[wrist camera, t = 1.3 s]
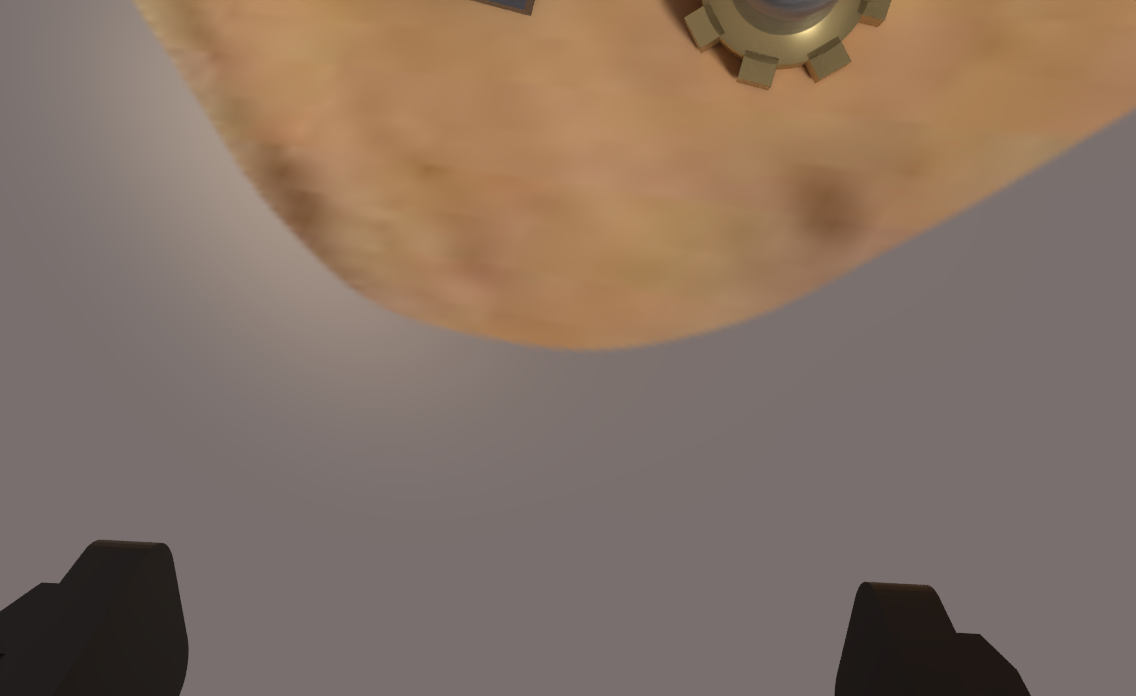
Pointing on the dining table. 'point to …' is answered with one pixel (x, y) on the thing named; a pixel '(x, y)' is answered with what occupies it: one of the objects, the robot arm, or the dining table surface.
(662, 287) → the dining table surface
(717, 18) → the gear
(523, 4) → the tray
